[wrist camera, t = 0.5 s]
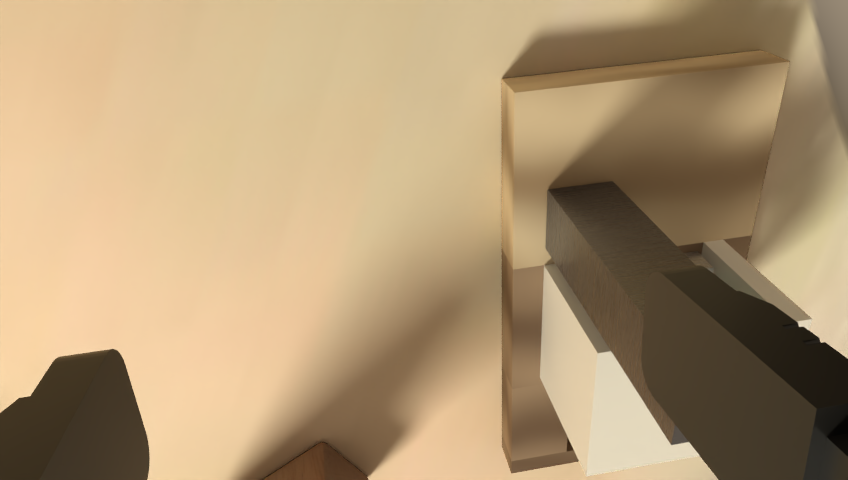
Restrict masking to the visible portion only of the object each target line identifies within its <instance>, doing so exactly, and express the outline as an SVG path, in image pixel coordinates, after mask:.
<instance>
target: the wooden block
mask: <svg viewBox="0 0 848 480" xmlns="http://www.w3.org/2000/svg"><path fill="white" fill-rule="evenodd" d="M263 480H368V478H367V476H366V475H365V474H363V473H362V472H361V471H360V470H358V469H357V468H356V467H355V466H354V465H352V464H351V463H350V462H349V461H347V460H346V459H345V458H344V457H343V456H341V455H340V454H339V453H338V452H336V451H335V450H334V449H333V448H332V447H330V446H329V445H328V444H327V443H324V442H322V443H319V444H317V445H316V446H314V447H313V448H311V449H309V450H308V451H306V452H305V453H303V454H302V455H300V456H299V457H297V458H296V459H294V460H292V461H291V462H289V463H288V464H286V465H285V466H283V467H282V468H280V469H278V470H277V471H275V472H274V473H272V474H271V475H269V476H268V477H266V478H264V479H263Z"/></svg>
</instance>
